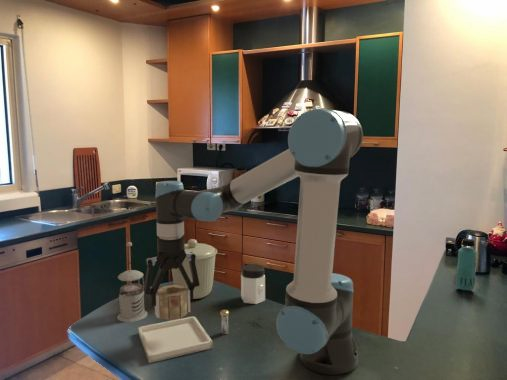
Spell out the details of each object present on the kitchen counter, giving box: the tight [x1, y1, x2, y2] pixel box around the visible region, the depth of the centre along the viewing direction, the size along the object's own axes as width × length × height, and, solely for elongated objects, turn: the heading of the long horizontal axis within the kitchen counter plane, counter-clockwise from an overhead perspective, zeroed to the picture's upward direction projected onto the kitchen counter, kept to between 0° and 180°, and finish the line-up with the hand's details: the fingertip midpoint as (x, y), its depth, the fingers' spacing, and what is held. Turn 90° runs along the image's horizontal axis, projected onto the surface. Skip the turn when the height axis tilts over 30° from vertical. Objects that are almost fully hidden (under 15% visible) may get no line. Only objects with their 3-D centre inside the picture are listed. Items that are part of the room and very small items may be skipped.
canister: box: [171, 238, 218, 300], centre depth 151 cm, size 18×18×21 cm
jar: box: [240, 263, 266, 305], centre depth 146 cm, size 9×8×12 cm
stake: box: [219, 309, 230, 335], centre depth 122 cm, size 3×3×7 cm
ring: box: [157, 284, 188, 321], centre depth 116 cm, size 8×9×7 cm
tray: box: [137, 315, 214, 364], centre depth 118 cm, size 18×18×2 cm
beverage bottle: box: [455, 238, 478, 291], centre depth 153 cm, size 6×7×20 cm
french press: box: [116, 241, 149, 323], centre depth 134 cm, size 10×12×25 cm
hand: (172, 312), depth 117 cm, fingers closed on ring, 8 cm apart
